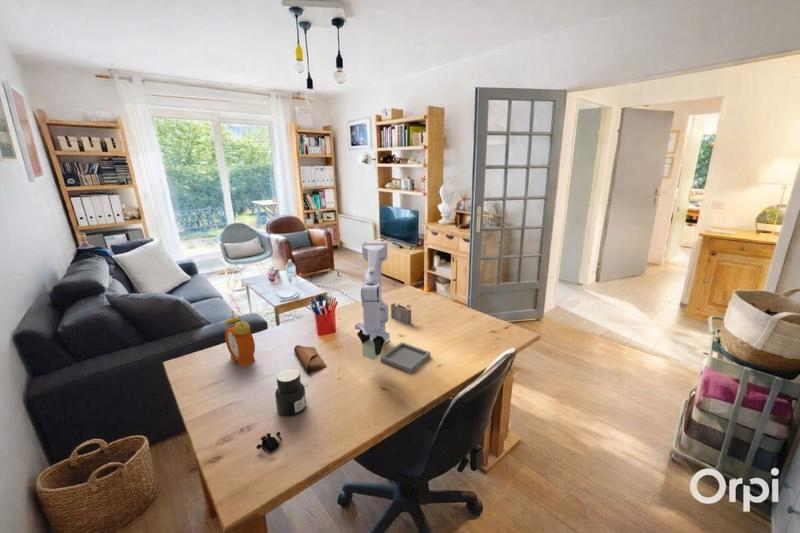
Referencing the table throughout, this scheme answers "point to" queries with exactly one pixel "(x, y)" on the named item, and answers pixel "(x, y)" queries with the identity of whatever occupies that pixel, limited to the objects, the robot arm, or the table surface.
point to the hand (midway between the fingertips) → (372, 351)
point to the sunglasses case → (309, 358)
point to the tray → (405, 357)
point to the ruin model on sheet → (401, 313)
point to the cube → (370, 350)
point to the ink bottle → (290, 393)
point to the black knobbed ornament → (269, 442)
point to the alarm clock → (240, 341)
